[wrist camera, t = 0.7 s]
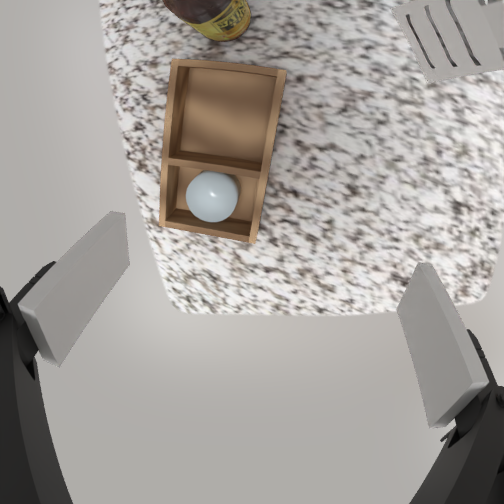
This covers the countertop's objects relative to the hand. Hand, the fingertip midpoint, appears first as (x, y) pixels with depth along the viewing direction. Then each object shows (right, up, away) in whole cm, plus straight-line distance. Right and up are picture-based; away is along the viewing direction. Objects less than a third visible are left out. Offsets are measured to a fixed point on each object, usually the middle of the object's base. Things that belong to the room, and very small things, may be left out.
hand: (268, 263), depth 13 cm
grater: (+23, +27, +13) cm, 37 cm away
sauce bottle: (-4, +28, +16) cm, 32 cm away
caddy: (-4, +14, +24) cm, 28 cm away
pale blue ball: (-5, +8, +26) cm, 27 cm away
